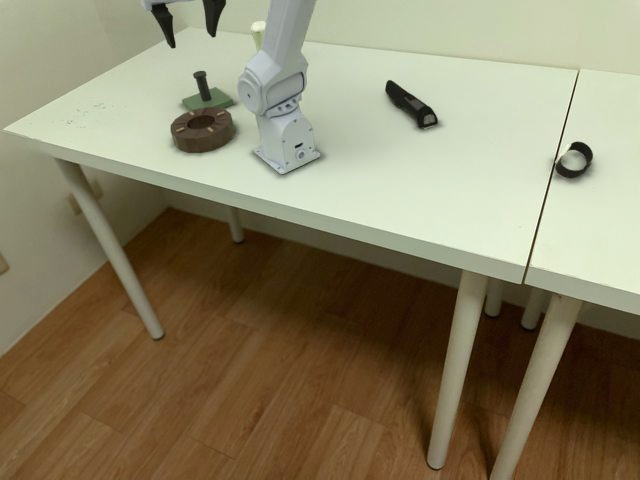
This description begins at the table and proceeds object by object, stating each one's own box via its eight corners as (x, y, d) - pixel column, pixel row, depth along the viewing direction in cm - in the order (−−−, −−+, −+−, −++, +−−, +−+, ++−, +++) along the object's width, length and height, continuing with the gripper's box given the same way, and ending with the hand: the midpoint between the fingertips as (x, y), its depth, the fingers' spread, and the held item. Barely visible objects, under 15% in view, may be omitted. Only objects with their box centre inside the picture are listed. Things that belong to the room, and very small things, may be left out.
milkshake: (276, 66, 108) (269, 21, 101) (254, 66, 109) (246, 21, 102) (281, 58, 111) (275, 13, 104) (260, 58, 112) (252, 14, 105)
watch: (564, 150, 73) (570, 130, 71) (596, 159, 71) (604, 138, 69) (545, 175, 69) (551, 154, 67) (579, 185, 67) (586, 164, 65)
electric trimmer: (397, 91, 94) (398, 76, 91) (439, 124, 83) (440, 108, 80) (380, 96, 93) (380, 81, 91) (420, 130, 82) (421, 114, 80)
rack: (233, 104, 96) (226, 72, 91) (198, 118, 93) (188, 86, 89) (217, 91, 101) (209, 61, 97) (183, 104, 98) (173, 73, 94)
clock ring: (245, 136, 86) (241, 120, 84) (189, 160, 82) (184, 144, 80) (218, 115, 93) (214, 100, 91) (166, 136, 89) (160, 120, 87)
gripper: (211, -61, 76) (218, 19, 87) (124, -46, 70) (143, 38, 81) (232, -43, 73) (236, 38, 84) (143, -25, 67) (160, 59, 78)
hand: (191, 39), depth 83 cm, fingers open, 7 cm apart
